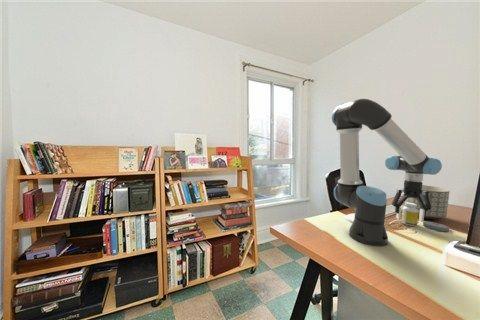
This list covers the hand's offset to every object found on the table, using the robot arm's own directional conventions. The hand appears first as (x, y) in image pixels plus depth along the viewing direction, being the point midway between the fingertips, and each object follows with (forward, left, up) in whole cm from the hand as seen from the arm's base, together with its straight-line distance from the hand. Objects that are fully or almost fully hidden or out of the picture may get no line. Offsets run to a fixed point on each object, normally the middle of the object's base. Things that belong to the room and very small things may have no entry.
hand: (409, 219), depth 109 cm
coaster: (+11, -2, -2) cm, 11 cm away
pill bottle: (0, 0, -3) cm, 3 cm away
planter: (+16, +17, -3) cm, 23 cm away
